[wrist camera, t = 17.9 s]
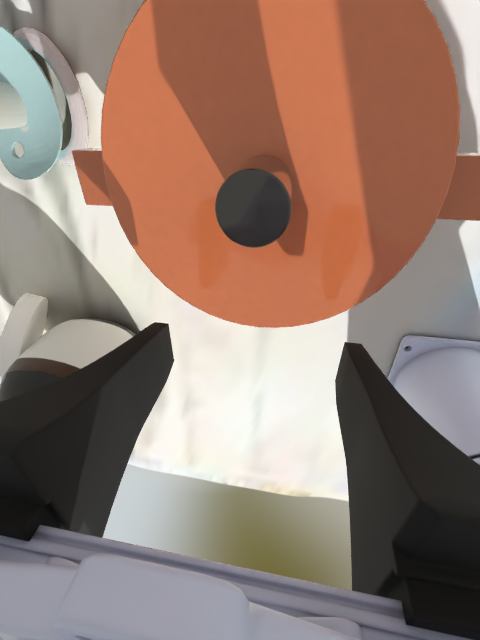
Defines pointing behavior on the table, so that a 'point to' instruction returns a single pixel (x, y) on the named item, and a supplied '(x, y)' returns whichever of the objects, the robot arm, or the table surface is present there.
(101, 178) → the pot
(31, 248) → the table surface
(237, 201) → the lid
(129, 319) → the table surface
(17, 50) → the pacifier
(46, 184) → the table surface
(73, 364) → the spread jar
